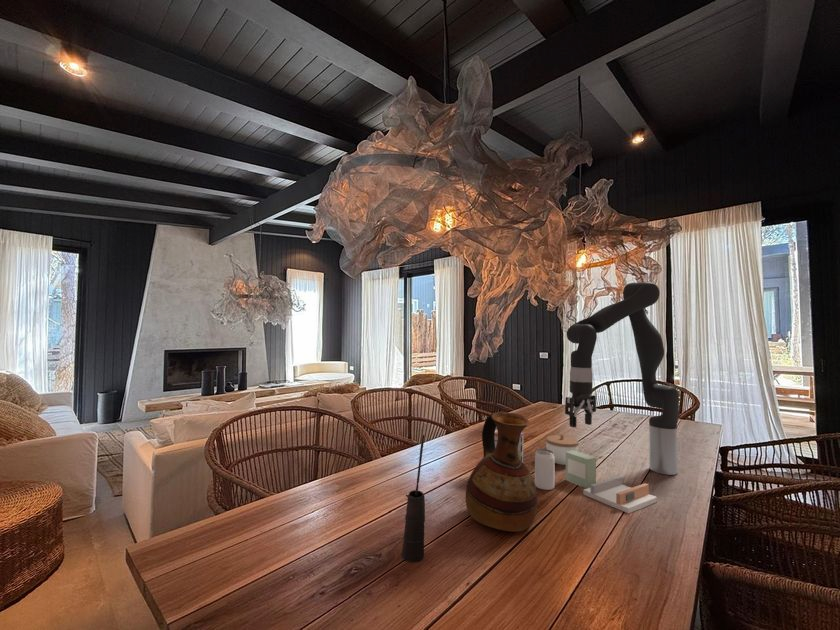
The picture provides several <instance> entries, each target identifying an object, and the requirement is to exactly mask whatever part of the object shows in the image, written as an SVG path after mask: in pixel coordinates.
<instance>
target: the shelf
mask: <svg viewBox="0 0 840 630" xmlns="http://www.w3.org/2000/svg"><path fill="white" fill-rule="evenodd" d="M649 489H650V487H649V484H648V483H641V484H638V485H636V486H632V487H631V486H628V485H625V484H623V476H620V475H617V476H615V477H611V478H608V479H604V480H602V481H598V482H596V483H595V484H591V488H587V489H586V488H584V489H583V492H582V493H583V495H584V496H586V497H589V498H590V499H594V500H596V501H597V502H600V503H602V504H606V505H608V506H609V507H612V508H615V509H617V510H620V511H622V512H623V513H626V514H631V513H634V512H636V511H638V510H640V509H643V508H646V507H648V506H650V505H653V504H655V503H657V502H658V497H657V496H655V495H652V494H649V493H650V490H649Z"/></svg>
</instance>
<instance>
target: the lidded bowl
mask: <svg viewBox="0 0 840 630" xmlns="http://www.w3.org/2000/svg"><path fill="white" fill-rule="evenodd" d="M545 441H546V444H545V445H546V449H547V450H551V451H553V455H554V458H555V464H558V465H561V466H566V452H568V451H573V450H574V451H578V452H579V441H578V439H576V438H573V437H571V436H566V435H564V434H562V433H561V434H560V435H556V434H554V435H548V436H546V437H545Z"/></svg>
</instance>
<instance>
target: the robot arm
mask: <svg viewBox="0 0 840 630" xmlns="http://www.w3.org/2000/svg"><path fill="white" fill-rule="evenodd" d="M623 287H624V288H623V289H622V298H623V299H622V300H621V301H617V302H614V303H612V304H609V305H607V306H605V307H603V308H601V309H599V310H598V311H596V312H595V313H593V314H592V315H591V316H588V317H586V318H583V319H581V320H579V321H577V322H574V323H573V324H571V325H570V327H568V329H567V330H566V338H567V340H568V341H569V342H571V343H572V344H575V345H576V344H577V349H575V350H573V351H572V352H571V353H570V369H569V393H571V397H570V396H569V397H568V396H566V397H565V402H564V403H565V406H564V414H565V415H567V416H569V426H570V427H571V428H577V424H578V423H577V421H578V420H577V418H578V417H577V415H578V413H580V412H581V410H583V411H584V424H585V425H588V426H590V425H592V421H593V419H592V418H593V414H594V413H596V412H597V397H596V395H592V394H593V369H592V368H593V361H592V360H593V359H592V357H593V353H594V350H595V346H596V342H597V339H598V337H597V334H600V333H603V332H604V331H606V330H608V329H609V328H611V327H612V326H614V325H615V324H617V323H619V321H621V320H624V319H625V318H626V317H629V321H630V325H631V329H632V334H633V337H634V343H635V349H636V353H637V357H638V362H639V367H640V373H641V380H642V392H643V398H644V402H645V403H646V404H647V406H649V407H651V408H655V409H661V410H662V413H661V415H655V416H650V417H649V419H648V420H649V422H648V425H649V426H648V432H649V433H648V435H649V437H648V439H649V440H648V444H649V445H648V446H649V447H648V448H649V450H648V451H649V452H648V454H649V455H648V456H649V460H648V461H649V466H648V467H649V468H648V469H649V470H650V471H652V472H655V473H657V474H662V475H668V476H670V475H671V476H675V475H677V474H678V421H679V410H680V393H679V391H678V389H677V388H676V387H674V386H672V385H664V384H658V382H657V377H656V376H657V371H658V368H659V366H660V365H661V364H662V361H663V359H664V357H665V348H664V347H665V346H664V342H663V337H662V335H661V333H660V332H659V330H658V329H657V328H656V326H654V324H653V323H652V322H651V321H650V319H649V318H648V316H647V314H646V311H645V309H646V308H648V307H651V306H653V305H655V304H656V303H657V301H658V300H659V298H660V288H659V286H658V285H657V284H656V283H654V282H651V281H644V282H643V281H640V282H629V283H627V284H626V285H625V286H623Z"/></svg>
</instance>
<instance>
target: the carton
mask: <svg viewBox="0 0 840 630" xmlns="http://www.w3.org/2000/svg"><path fill="white" fill-rule="evenodd" d="M565 481H567V482H570V483H572V484H575V485H577V486H579V487H582V488H584V489H587V488H591V484H595V483H597V457H596V456H592V455H590V454H587V453H584V452H580V451H579V450H578V451H574V450H573V451H568V452H566V465H565Z"/></svg>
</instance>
